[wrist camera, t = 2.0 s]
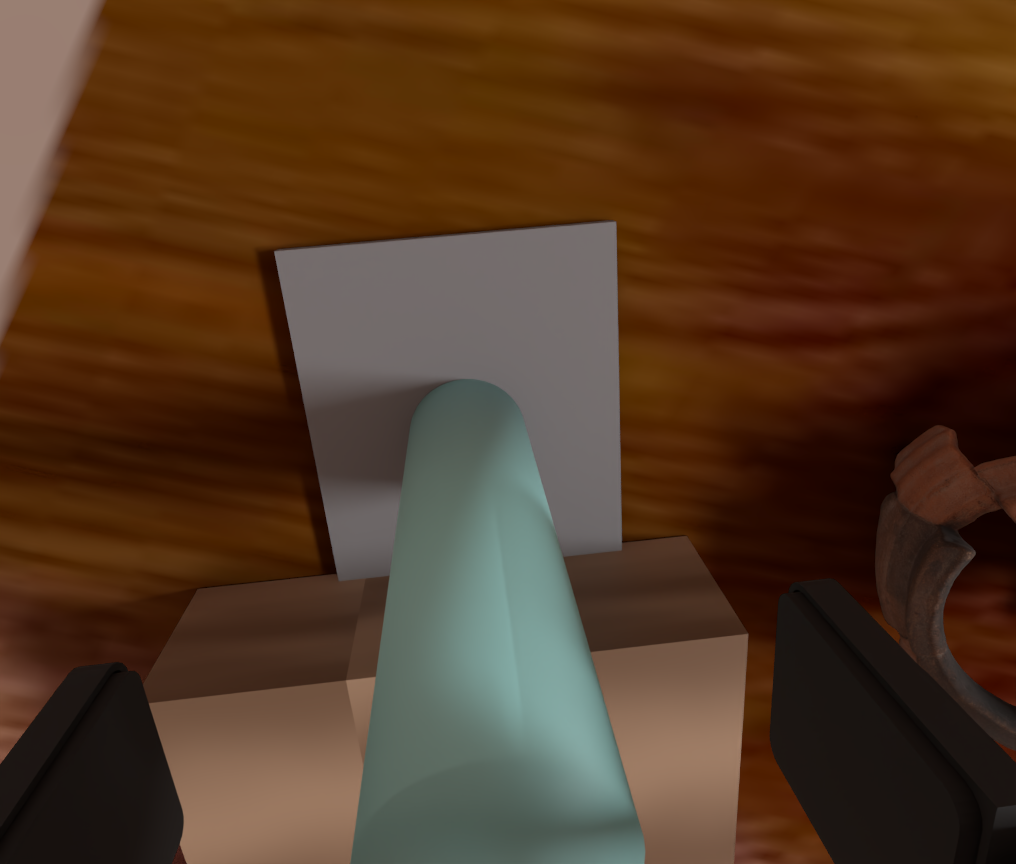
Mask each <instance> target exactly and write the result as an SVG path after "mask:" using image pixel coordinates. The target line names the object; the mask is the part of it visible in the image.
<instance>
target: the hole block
mask: <svg viewBox="0 0 1016 864" xmlns="http://www.w3.org/2000/svg"><path fill="white" fill-rule="evenodd" d="M563 558H564V562H565V565H566V569H567V572H568V576H569V579H570V583H571V586H572V590H573V593H574V597H575V600H576V604H577V607H578V611H579V614H580V617H581V621H582V624H583V628H584V631H585V635H586V638H587V642H588V645H589V649H590V652H591V656H592V659H593V663H594V666H595V670H596V673H597V677H598V680H599V684H600V687H601V690H602V694H603V697H604V701H605V704H606V708H607V711H608V715H609V718H610V722H611V725H612V729H613V732H614V736H615V739H616V743H617V746H618V750H619V753H620V757H621V760H622V763H623V767H624V770H625V774H626V777H627V781H628V784H629V788H630V791H631V795H632V798H633V802H634V805H635V809H636V812H637V816H638V819H639V823H640V826H641V830H642V833H643V837H644V843H645V862H644V864H734V853H735V837H736V821H737V806H738V790H739V774H740V758H741V742H742V726H743V711H744V695H745V679H746V663H747V647H748V633H747V631H746V629H745V628H744V626H743V625H742V623H741V621H740V620H739V618H738V617H737V615H736V613H735V612H734V610H733V609H732V607H731V605H730V604H729V602H728V601H727V599H726V597H725V596H724V594H723V593H722V591H721V590H720V588H719V586H718V585H717V583H716V582H715V580H714V578H713V577H712V575H711V574H710V572H709V570H708V569H707V567H706V566H705V564H704V562H703V561H702V559H701V558H700V556H699V554H698V553H697V551H696V550H695V548H694V547H693V545H692V543H691V542H690V540H689V539H688V537H687V536H680V537H671V538H662V539H653V540H643V541H634V542H625V543H622V550H621V551H612V552H603V553H594V554H585V555H575V556H566V557H563ZM389 577H390V576H383V577H374V578H365V579H356V580H346V581H338V576H337V574H331V575H321V576H312V577H303V578H294V579H285V580H275V581H266V582H257V583H248V584H239V585H229V586H220V587H211V588H202V589H197V591H196V593H195V594H194V596H193V598H192V600H191V601H190V603H189V605H188V607H187V608H186V610H185V612H184V614H183V615H182V617H181V619H180V621H179V622H178V624H177V626H176V628H175V629H174V631H173V633H172V634H171V636H170V638H169V640H168V641H167V643H166V645H165V647H164V648H163V650H162V652H161V654H160V655H159V657H158V659H157V661H156V662H155V664H154V666H153V668H152V669H151V671H150V673H149V674H148V676H147V678H146V680H145V681H144V683H143V687H144V690H145V693H146V697H147V700H148V703H149V706H150V709H151V712H152V715H153V719H154V722H155V725H156V728H157V731H158V734H159V737H160V741H161V744H162V747H163V750H164V753H165V756H166V759H167V763H168V766H169V769H170V772H171V775H172V778H173V781H174V785H175V788H176V791H177V794H178V797H179V800H180V804H181V807H182V810H183V815H184V827H183V834H182V838H181V841H180V846H181V849H182V852H183V855H184V858H185V860H186V863H187V864H350V861H351V854H352V847H353V839H354V832H355V825H356V818H357V810H358V803H359V796H360V788H361V781H362V774H363V766H364V759H365V752H366V745H367V737H368V730H369V723H370V715H371V708H372V701H373V694H374V686H375V679H376V672H377V664H378V657H379V650H380V642H381V635H382V628H383V621H384V613H385V606H386V599H387V591H388V584H389Z"/></svg>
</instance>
